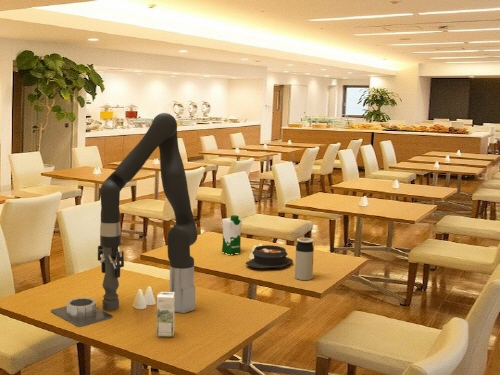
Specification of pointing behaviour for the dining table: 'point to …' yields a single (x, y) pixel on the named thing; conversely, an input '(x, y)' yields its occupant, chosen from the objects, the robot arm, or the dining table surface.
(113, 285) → the candle holder
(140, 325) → the dining table surface
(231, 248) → the milk carton
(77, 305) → the steel collar
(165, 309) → the syrup box
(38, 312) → the dining table surface
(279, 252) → the casserole
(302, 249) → the travel mug
